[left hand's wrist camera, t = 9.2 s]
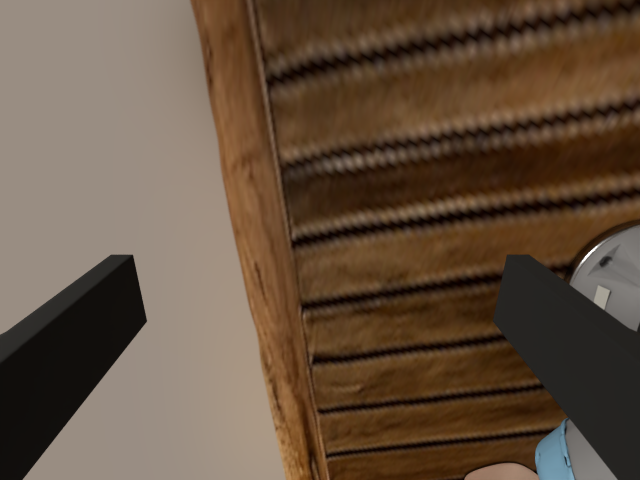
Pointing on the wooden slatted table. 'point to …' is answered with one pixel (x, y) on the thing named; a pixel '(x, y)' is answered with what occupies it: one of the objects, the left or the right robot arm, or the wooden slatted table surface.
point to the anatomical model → (503, 473)
